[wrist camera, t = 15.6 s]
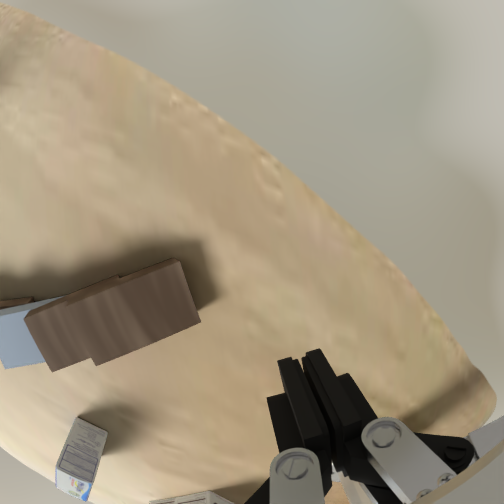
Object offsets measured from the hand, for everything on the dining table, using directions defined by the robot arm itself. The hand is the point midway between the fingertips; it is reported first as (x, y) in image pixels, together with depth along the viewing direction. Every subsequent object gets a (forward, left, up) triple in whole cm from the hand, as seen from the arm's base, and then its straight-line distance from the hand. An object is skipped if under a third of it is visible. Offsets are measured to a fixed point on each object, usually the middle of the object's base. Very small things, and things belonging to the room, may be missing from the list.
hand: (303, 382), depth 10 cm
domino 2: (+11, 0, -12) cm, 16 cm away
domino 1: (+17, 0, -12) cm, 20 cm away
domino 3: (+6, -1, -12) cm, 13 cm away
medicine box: (+26, +17, -13) cm, 33 cm away
